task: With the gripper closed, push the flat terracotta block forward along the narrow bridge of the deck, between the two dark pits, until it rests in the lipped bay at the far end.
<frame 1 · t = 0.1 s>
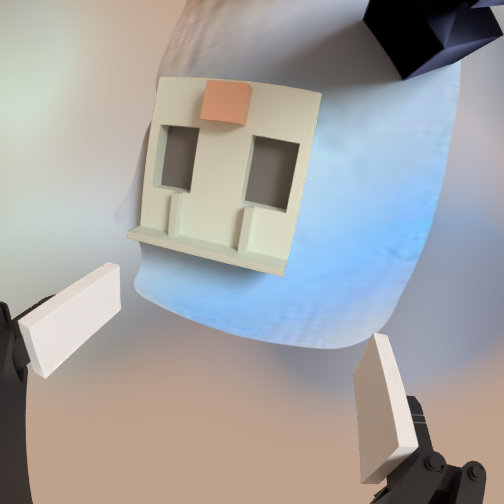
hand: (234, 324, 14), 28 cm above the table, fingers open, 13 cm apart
deck: (226, 163, 39), on the table
block: (230, 104, 33), point 3 cm above the table, touching deck
vase: (407, 38, 28), on the table
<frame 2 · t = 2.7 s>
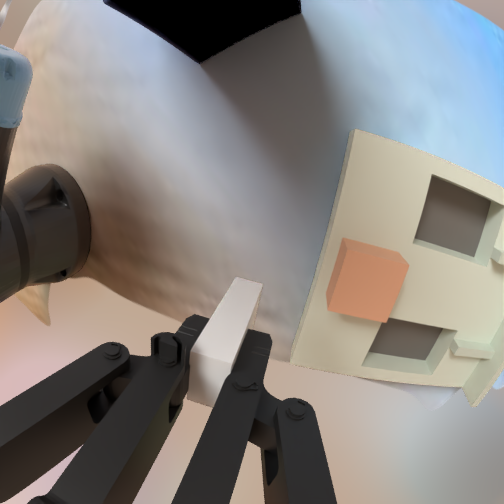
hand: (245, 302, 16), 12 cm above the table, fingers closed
deck: (428, 278, 25), on the table
block: (362, 272, 23), point 3 cm above the table, touching deck
vase: (222, 5, 20), on the table
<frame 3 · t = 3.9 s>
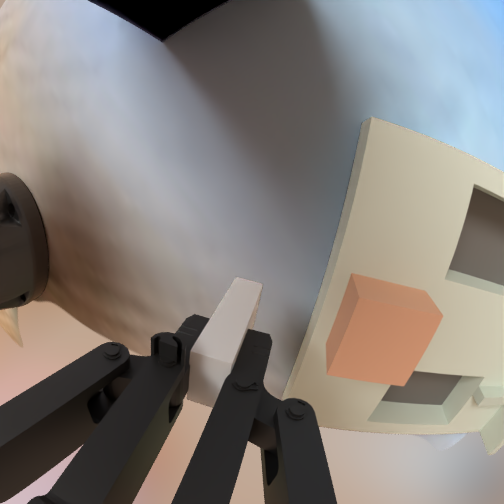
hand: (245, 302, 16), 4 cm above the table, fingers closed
deck: (455, 315, 18), on the table
block: (376, 318, 16), point 3 cm above the table, touching deck
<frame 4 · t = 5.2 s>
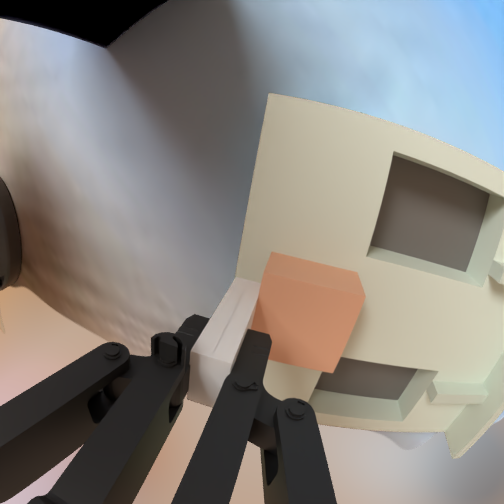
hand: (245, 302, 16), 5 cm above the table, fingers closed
deck: (399, 301, 19), on the table
block: (304, 300, 17), point 3 cm above the table, touching deck, gripper
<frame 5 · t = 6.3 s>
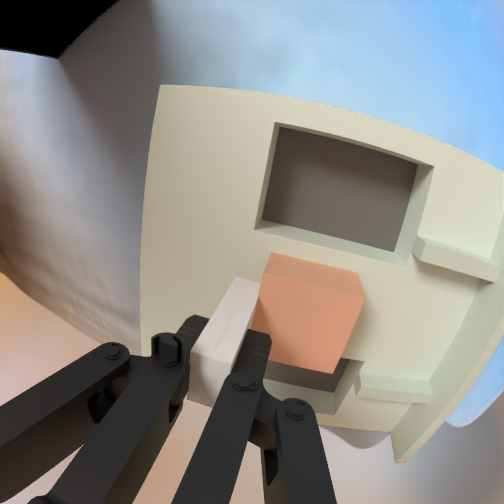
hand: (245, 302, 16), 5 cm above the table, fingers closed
deck: (316, 283, 20), on the table
block: (303, 300, 17), point 3 cm above the table, touching gripper
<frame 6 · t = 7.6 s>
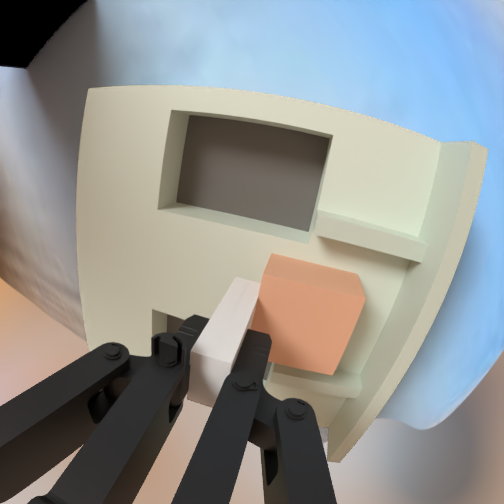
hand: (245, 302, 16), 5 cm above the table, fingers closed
deck: (232, 263, 20), on the table
block: (304, 302, 17), point 3 cm above the table, touching deck, gripper
vase: (48, 11, 16), on the table
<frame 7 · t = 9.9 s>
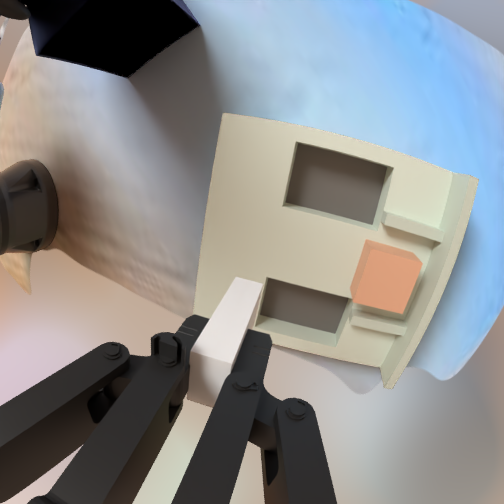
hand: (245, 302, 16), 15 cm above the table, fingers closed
deck: (321, 245, 29), on the table
block: (381, 270, 26), point 3 cm above the table, touching deck
vase: (146, 29, 26), on the table
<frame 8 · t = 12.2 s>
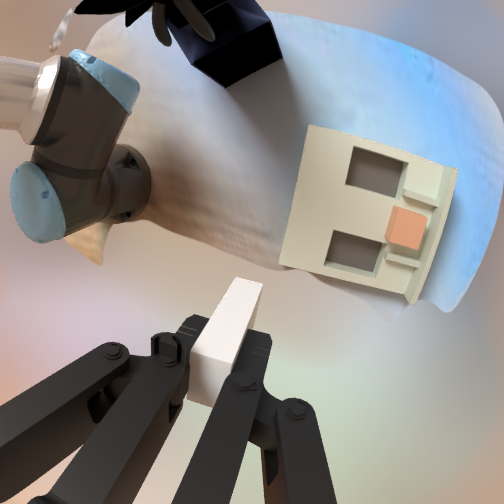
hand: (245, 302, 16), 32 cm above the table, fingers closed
deck: (363, 211, 44), on the table
block: (403, 225, 40), point 3 cm above the table, touching deck
vase: (237, 52, 39), on the table
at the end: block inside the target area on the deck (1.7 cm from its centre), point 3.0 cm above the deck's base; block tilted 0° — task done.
